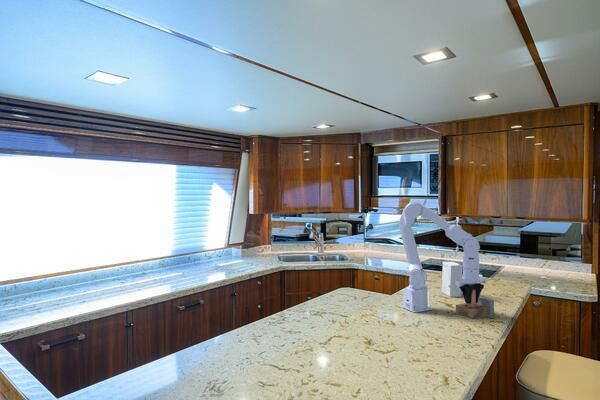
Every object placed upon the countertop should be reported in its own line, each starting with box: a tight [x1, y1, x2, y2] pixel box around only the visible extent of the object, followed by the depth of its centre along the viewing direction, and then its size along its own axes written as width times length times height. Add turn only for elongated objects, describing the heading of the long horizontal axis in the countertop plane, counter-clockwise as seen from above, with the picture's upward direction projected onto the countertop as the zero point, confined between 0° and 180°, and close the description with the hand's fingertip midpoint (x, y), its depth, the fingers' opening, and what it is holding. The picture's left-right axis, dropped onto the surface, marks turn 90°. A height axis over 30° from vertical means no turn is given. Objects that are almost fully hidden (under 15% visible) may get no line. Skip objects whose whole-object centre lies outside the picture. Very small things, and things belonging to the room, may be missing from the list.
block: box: [455, 302, 489, 319], centre depth 141 cm, size 8×8×3 cm
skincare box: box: [441, 261, 463, 298], centre depth 168 cm, size 8×6×15 cm
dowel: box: [467, 289, 476, 309], centre depth 141 cm, size 3×3×8 cm
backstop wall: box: [476, 295, 495, 317], centre depth 143 cm, size 2×10×6 cm, turn 22°
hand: (471, 302), depth 141 cm, fingers closed on dowel, 3 cm apart
